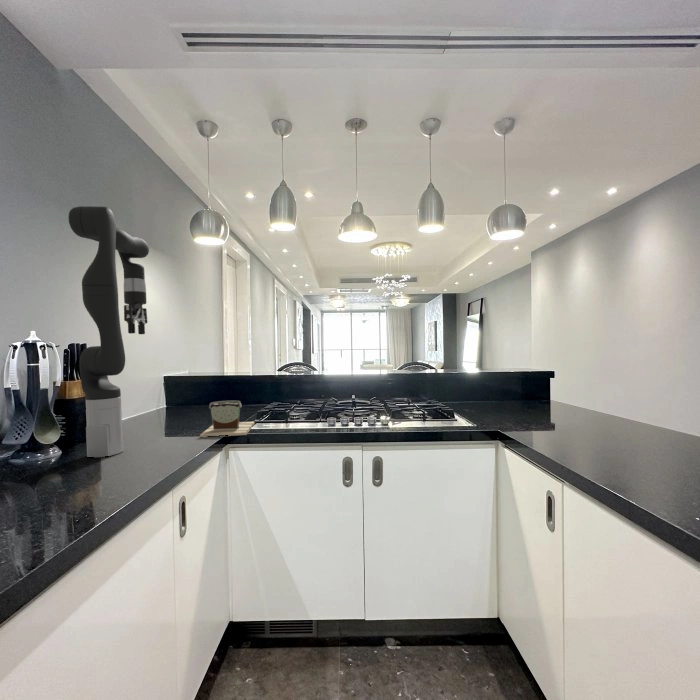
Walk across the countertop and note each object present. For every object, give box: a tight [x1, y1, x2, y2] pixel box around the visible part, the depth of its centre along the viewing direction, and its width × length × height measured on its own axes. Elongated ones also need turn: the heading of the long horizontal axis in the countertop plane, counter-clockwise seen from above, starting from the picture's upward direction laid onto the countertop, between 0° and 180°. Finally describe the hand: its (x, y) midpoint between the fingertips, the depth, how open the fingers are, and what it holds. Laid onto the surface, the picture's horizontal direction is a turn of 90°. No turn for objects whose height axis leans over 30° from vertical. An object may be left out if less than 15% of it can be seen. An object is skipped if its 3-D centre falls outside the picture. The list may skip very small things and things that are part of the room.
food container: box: [208, 399, 242, 430], centre depth 149 cm, size 12×6×10 cm, turn 86°
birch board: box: [199, 421, 255, 438], centre depth 149 cm, size 20×16×1 cm
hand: (136, 333), depth 150 cm, fingers open, 8 cm apart
